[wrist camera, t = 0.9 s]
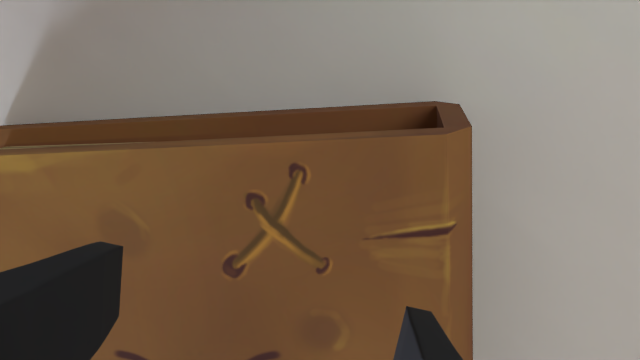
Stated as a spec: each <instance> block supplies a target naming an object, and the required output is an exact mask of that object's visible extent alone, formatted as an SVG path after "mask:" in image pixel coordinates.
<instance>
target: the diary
mask: <svg viewBox="0 0 640 360" xmlns="http://www.w3.org/2000/svg"><path fill="white" fill-rule="evenodd" d="M100 241H101V242H106V243H111V244H115V245H120V246H123V260H122V276H121V293H120V309H119V317H118V319H117V321H116V322H115V324H114V326H113V327H112V329H111V331H110V332H109V334H108V336H107V337H106V339H105V340H104V342H103V344H102V345H101V347H100V348H99V349H98V351H97V352H96V353H95V354H94V356H93V357H92V358H91V359H90V360H393V359H394V354H395V350H396V346H397V342H398V338H399V334H400V330H401V326H402V322H403V318H404V314H405V310H406V306H408V307H413V308H418V309H422V310H427V311H431V312H432V313H433V315H434V316H435V318H436V319H437V321H438V323H439V324H440V326H441V327H442V329H443V331H444V332H445V334H446V335H447V337H448V338H449V340H450V341H451V343H452V344H453V346H454V347H455V349H456V350H457V352H458V353H459V355H460V356H461V357H462V359H463V360H473V341H472V126H471V124H470V122H469V121H468V119H467V117H466V115H465V114H464V112H463V110H462V108H461V106H460V105H459V104H452V103H444V102H436V101H433V102H415V103H397V104H379V105H362V106H344V107H326V108H308V109H290V110H272V111H254V112H236V113H219V114H201V115H183V116H165V117H147V118H129V119H111V120H94V121H76V122H58V123H40V124H22V125H4V126H0V272H3V271H6V270H10V269H13V268H16V267H20V266H23V265H26V264H30V263H33V262H36V261H39V260H42V259H45V258H48V257H51V256H54V255H57V254H60V253H63V252H66V251H68V250H71V249H75V248H78V247H81V246H84V245H87V244H91V243H95V242H100Z"/></svg>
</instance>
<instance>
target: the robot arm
mask: <svg viewBox="0 0 640 360" xmlns="http://www.w3.org/2000/svg"><path fill="white" fill-rule="evenodd" d="M122 260H123V246H120V245H115V244H111V243H106V242H101V241H100V242H95V243H91V244H87V245H84V246H81V247H78V248H75V249H71V250H68V251H66V252H63V253H60V254H57V255H54V256H51V257H48V258H45V259H42V260H39V261H36V262H33V263H30V264H26V265H23V266H20V267H16V268H13V269H10V270H6V271H3V272H0V360H90V359H91V358H92V357H93V356H94V354H95V353H96V352H97V351H98V349H99V348H100V347H101V345H102V344H103V342H104V340H105V339H106V337H107V336H108V334H109V332H110V331H111V329H112V327H113V326H114V324H115V322H116V321H117V319H118V317H119V309H120V293H121V276H122ZM393 360H463V359H462V357H461V356H460V355H459V353H458V352H457V350H456V349H455V347H454V346H453V344H452V343H451V341H450V340H449V338H448V337H447V335H446V334H445V332H444V331H443V329H442V327H441V326H440V324H439V323H438V321H437V319H436V318H435V316H434V315H433V313H432V312H431V311H427V310H422V309H418V308H413V307H408V306H406V310H405V314H404V318H403V322H402V326H401V330H400V334H399V338H398V342H397V346H396V350H395V354H394V359H393Z"/></svg>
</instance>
